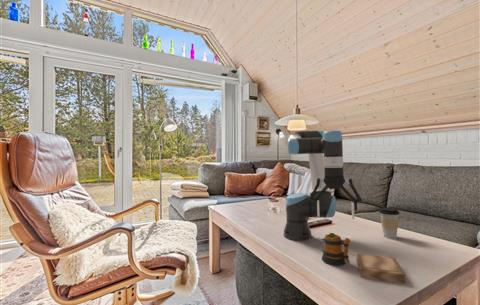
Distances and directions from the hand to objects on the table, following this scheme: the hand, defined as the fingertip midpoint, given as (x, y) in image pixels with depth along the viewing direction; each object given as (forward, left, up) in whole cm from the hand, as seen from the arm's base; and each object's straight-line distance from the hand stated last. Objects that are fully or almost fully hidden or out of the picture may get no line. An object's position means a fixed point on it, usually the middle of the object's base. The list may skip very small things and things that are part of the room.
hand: (335, 217), depth 98 cm
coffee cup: (+27, +40, -19) cm, 52 cm away
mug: (0, 0, -19) cm, 19 cm away
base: (+15, -3, -19) cm, 24 cm away
